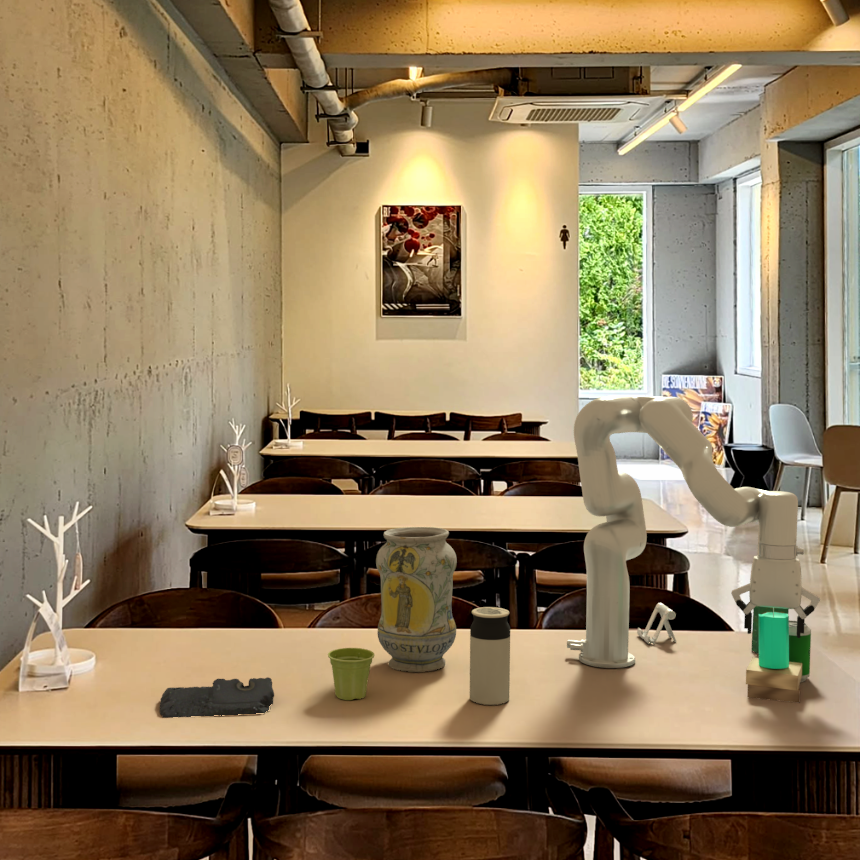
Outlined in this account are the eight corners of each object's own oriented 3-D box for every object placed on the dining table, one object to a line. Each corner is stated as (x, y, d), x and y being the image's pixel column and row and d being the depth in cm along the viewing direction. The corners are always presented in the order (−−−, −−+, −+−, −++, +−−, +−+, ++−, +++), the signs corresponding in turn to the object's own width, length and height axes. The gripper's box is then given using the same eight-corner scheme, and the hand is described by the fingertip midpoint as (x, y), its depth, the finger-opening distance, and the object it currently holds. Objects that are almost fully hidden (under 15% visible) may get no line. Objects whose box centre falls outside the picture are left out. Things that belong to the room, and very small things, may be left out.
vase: (361, 670, 239) (362, 534, 237) (394, 650, 255) (395, 522, 253) (438, 680, 232) (439, 540, 230) (467, 658, 248) (468, 528, 247)
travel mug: (482, 708, 213) (483, 617, 212) (462, 696, 221) (463, 608, 219) (516, 702, 217) (518, 613, 216) (496, 691, 224) (497, 605, 223)
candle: (781, 661, 228) (781, 604, 228) (794, 668, 222) (793, 609, 222) (753, 662, 228) (753, 605, 228) (765, 669, 222) (765, 610, 222)
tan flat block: (747, 699, 222) (747, 685, 222) (748, 686, 231) (749, 672, 231) (799, 705, 219) (799, 690, 219) (798, 690, 228) (799, 676, 228)
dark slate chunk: (163, 696, 221) (163, 673, 220) (273, 692, 224) (273, 669, 224) (156, 721, 206) (156, 696, 205) (274, 717, 209) (274, 692, 208)
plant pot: (381, 692, 223) (381, 650, 223) (363, 705, 214) (363, 662, 214) (339, 687, 226) (339, 645, 226) (320, 700, 217) (320, 657, 217)
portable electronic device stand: (637, 636, 270) (637, 603, 270) (667, 635, 271) (668, 602, 271) (647, 645, 262) (648, 611, 261) (679, 645, 263) (680, 610, 262)
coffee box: (781, 649, 259) (783, 594, 258) (788, 652, 256) (789, 597, 255) (750, 651, 257) (752, 596, 257) (756, 654, 255) (758, 598, 254)
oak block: (745, 684, 223) (746, 669, 222) (752, 671, 232) (752, 657, 232) (797, 690, 219) (797, 675, 218) (801, 677, 228) (802, 663, 228)
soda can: (812, 684, 231) (813, 628, 230) (774, 682, 233) (776, 626, 232) (807, 674, 238) (808, 620, 238) (771, 672, 240) (772, 618, 239)
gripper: (821, 551, 224) (817, 633, 225) (733, 546, 229) (730, 626, 231) (822, 558, 217) (818, 642, 218) (732, 552, 222) (729, 635, 224)
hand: (773, 634), depth 224 cm, fingers open, 9 cm apart
